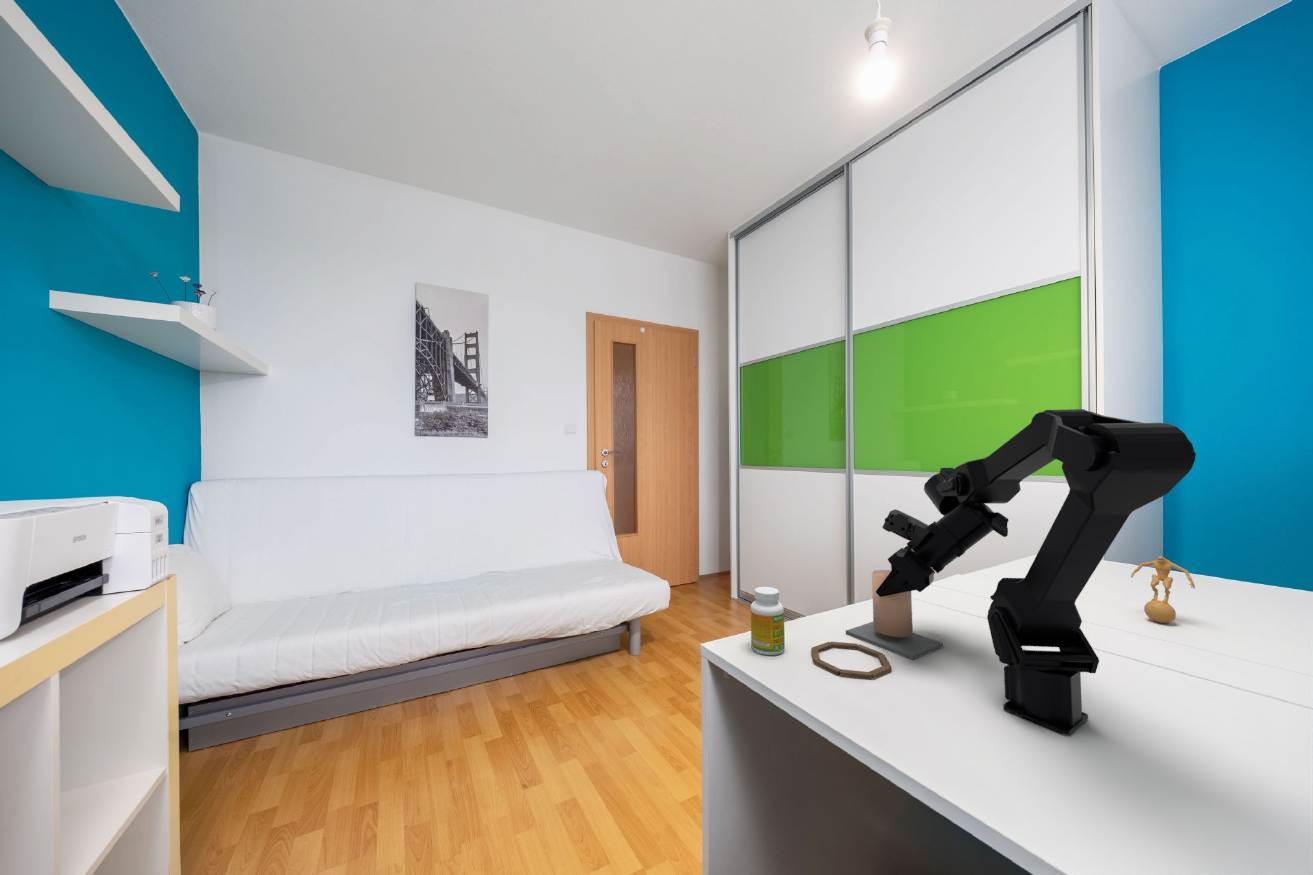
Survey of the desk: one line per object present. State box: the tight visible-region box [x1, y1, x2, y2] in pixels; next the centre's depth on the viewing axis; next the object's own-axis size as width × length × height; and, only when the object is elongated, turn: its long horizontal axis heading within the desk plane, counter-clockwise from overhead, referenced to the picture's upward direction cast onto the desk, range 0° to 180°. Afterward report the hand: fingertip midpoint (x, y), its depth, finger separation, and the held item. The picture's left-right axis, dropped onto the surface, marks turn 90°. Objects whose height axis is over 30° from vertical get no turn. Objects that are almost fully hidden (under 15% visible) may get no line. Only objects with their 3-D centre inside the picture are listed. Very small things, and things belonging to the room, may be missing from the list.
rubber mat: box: [845, 621, 944, 660], centre depth 79 cm, size 12×9×1 cm
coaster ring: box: [810, 641, 892, 680], centre depth 72 cm, size 11×11×1 cm
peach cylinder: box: [871, 569, 914, 637], centre depth 79 cm, size 6×6×10 cm
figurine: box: [1130, 555, 1196, 624], centre depth 86 cm, size 8×6×12 cm
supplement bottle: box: [750, 586, 786, 656], centre depth 76 cm, size 5×5×10 cm
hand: (882, 589), depth 80 cm, fingers closed on peach cylinder, 6 cm apart
